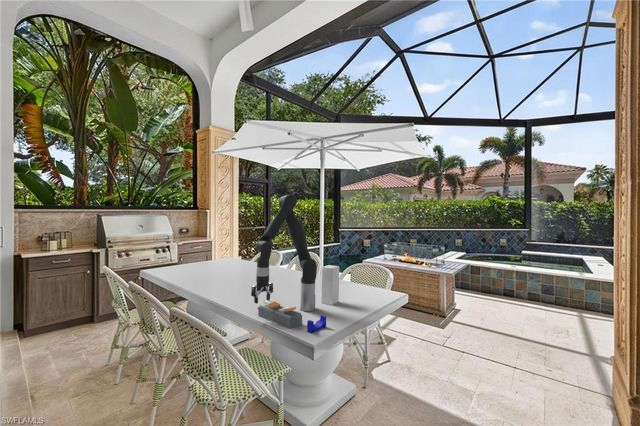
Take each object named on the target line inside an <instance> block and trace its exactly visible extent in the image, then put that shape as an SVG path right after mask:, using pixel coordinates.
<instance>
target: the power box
mask: <svg viewBox="0 0 640 426" xmlns="http://www.w3.org/2000/svg"><path fill="white" fill-rule="evenodd" d="M282 308H285V306H283V305H282V306H281V305H280V306H279V307H276V308H272V307H270V306H269V305H267V304H265V305H262V304H259V306H258V307H257V310H258V316H259V317H261V318H263V319H266V320H267V321H271V322H272V323H275V324H278V325H281V326H282V327H286V328H288V329H293V328H296V327H298V326H301V325H302V324H303V315H302V312H300V311H296V310H291V311H279V309H282Z"/></svg>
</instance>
